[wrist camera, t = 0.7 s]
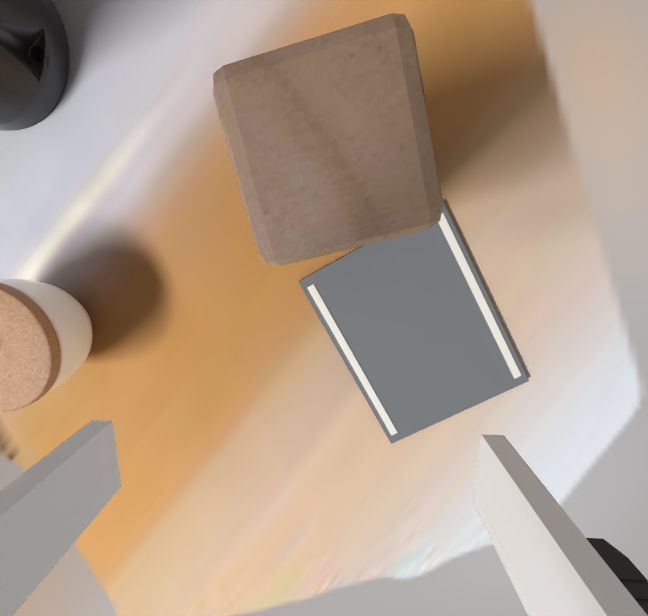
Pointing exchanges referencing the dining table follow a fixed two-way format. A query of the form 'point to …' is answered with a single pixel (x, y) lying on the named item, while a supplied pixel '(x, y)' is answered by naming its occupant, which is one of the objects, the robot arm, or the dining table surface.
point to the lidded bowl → (39, 340)
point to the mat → (415, 328)
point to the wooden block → (331, 141)
